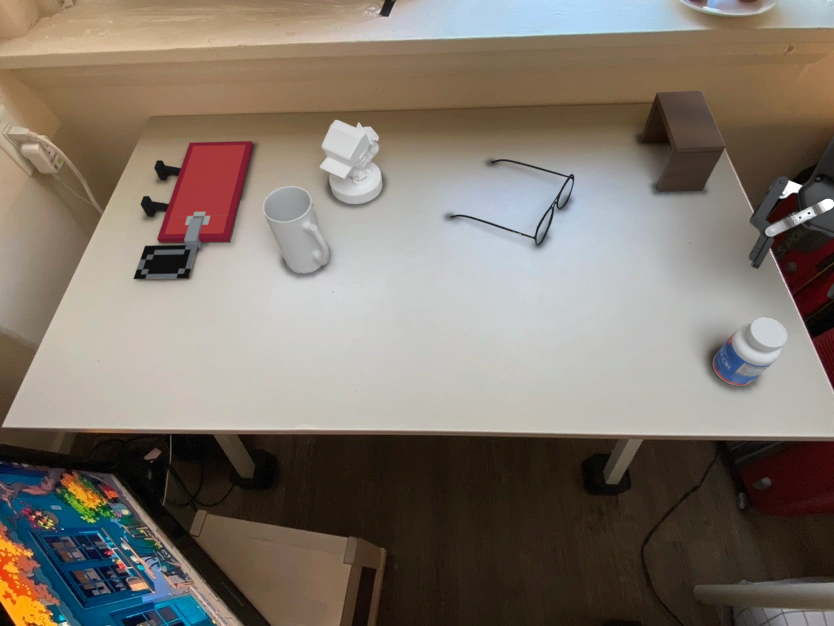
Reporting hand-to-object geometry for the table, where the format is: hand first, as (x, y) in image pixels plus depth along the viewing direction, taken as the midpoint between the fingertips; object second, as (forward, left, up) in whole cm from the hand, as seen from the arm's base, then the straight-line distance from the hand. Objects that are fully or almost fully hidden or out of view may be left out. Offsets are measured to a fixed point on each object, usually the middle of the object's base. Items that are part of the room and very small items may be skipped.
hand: (792, 282), depth 65 cm
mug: (+48, +39, -12) cm, 63 cm away
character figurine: (+57, +25, -12) cm, 64 cm away
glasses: (+37, +8, -12) cm, 40 cm away
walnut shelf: (+27, -19, -12) cm, 35 cm away
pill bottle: (-2, +6, -12) cm, 14 cm away
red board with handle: (+71, +48, -12) cm, 86 cm away
